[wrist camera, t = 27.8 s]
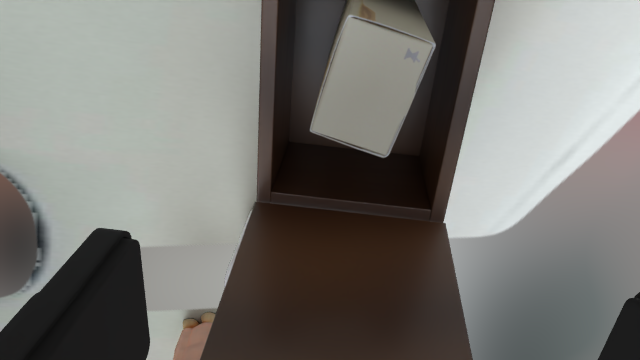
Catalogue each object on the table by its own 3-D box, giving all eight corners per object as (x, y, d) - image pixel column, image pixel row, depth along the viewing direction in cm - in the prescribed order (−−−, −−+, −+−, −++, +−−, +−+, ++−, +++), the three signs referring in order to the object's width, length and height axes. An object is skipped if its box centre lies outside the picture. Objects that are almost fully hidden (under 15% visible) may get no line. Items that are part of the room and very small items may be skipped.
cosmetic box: (354, -24, 32) (348, 4, 22) (417, -2, 33) (442, 36, 22) (323, 69, 35) (304, 134, 24) (381, 88, 36) (388, 161, 25)
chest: (288, -78, 32) (263, -78, 24) (473, -61, 32) (508, -55, 24) (278, 146, 39) (256, 202, 32) (427, 162, 39) (443, 223, 31)
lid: (156, 482, 17) (171, 556, 20) (507, 529, 16) (466, 597, 20) (255, 201, 31) (254, 270, 34) (445, 222, 30) (427, 290, 34)
